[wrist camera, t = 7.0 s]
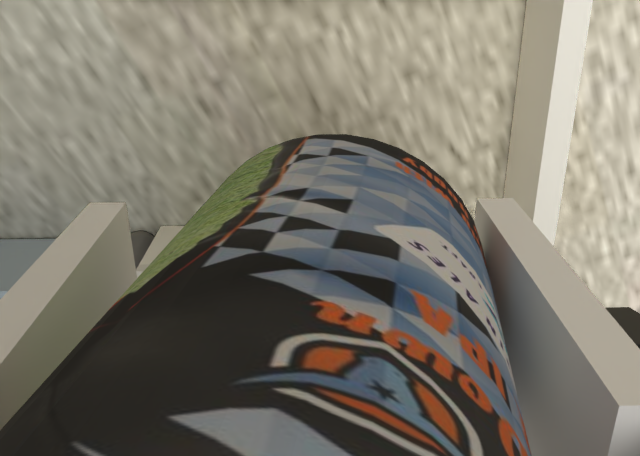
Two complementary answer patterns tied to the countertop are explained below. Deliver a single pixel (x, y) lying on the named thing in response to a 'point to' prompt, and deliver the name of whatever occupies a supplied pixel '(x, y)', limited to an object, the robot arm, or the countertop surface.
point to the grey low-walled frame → (525, 114)
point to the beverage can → (296, 326)
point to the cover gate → (20, 254)
